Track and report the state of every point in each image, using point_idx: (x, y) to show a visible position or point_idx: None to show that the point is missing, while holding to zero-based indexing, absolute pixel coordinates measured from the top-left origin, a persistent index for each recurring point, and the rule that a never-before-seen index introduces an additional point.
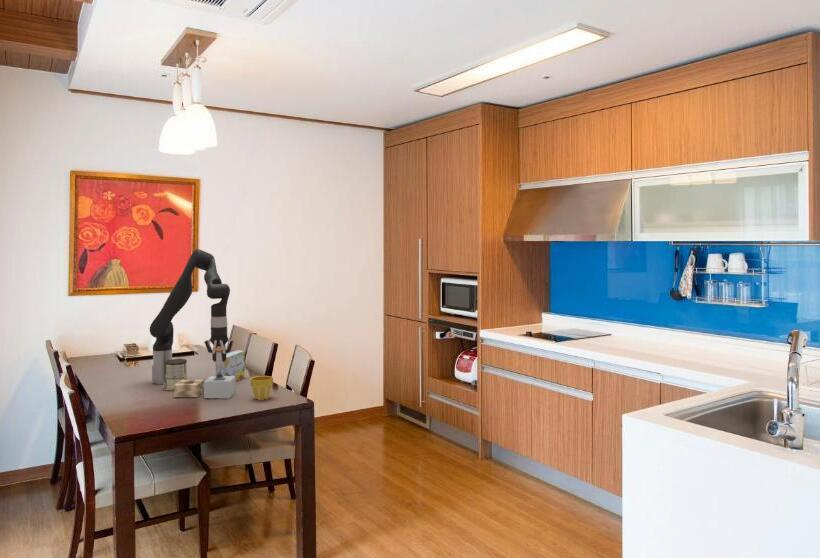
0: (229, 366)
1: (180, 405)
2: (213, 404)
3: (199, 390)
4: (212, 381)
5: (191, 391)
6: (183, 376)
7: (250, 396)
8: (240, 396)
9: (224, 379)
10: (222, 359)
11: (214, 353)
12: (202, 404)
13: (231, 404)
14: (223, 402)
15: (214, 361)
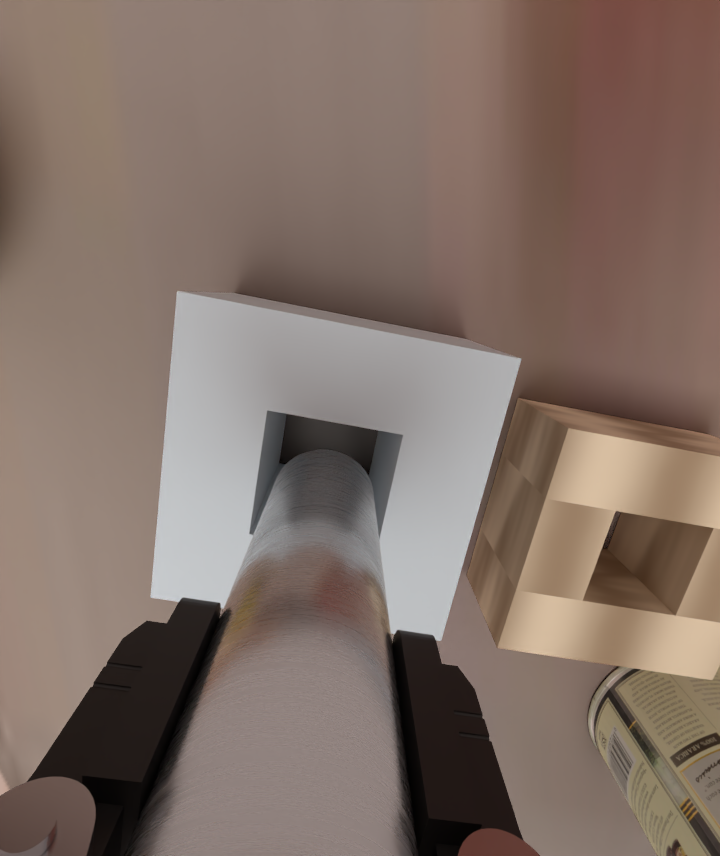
0: None
1: (682, 129)
2: (377, 78)
3: (520, 464)
4: (411, 356)
5: (598, 420)
6: (687, 770)
7: (50, 320)
8: (145, 344)
9: (263, 437)
10: (214, 643)
11: (459, 852)
12: (482, 110)
13: (195, 21)
14: (284, 139)
15: (417, 633)
